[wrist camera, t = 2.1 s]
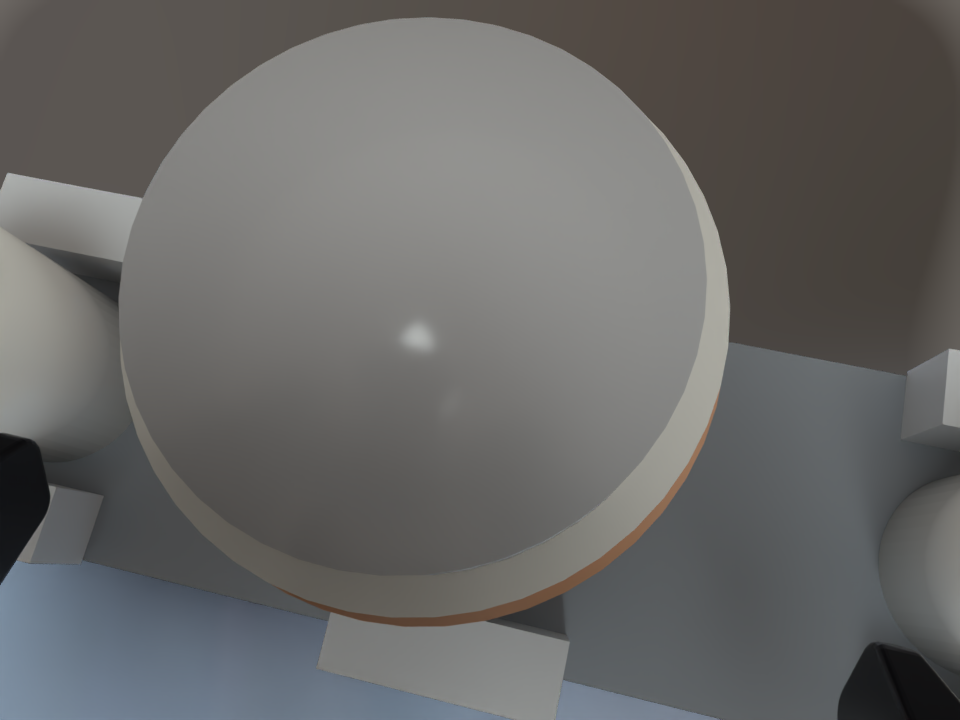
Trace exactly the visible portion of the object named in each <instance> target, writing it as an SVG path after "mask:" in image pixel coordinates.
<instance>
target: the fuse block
mask: <svg viewBox="0 0 960 720" xmlns="http://www.w3.org/2000/svg"><path fill="white" fill-rule="evenodd" d="M142 199H143V198H139V197H134V196H128V195H123V194H118V193H112V192H107V191H101V190H96V189H91V188H85V187H80V186H75V185H70V184H64V183H59V182H53V181H48V180H42V179H37V178H32V177H27V176H21V175H15V174H10V173H7V176H6V178H5V180H4V183H3V186H2V188H1V190H0V227H1V228H3V229H4V230H6V231H7V232H9V233H11V234H12V235H14V236H15V237H17V238H18V239H20V240H21V241H23V242H24V243H26V244H28V245H29V246H31V247H32V248H34V249H35V250H37V251H38V252H40V253H41V254H43V255H45V256H46V257H48V258H49V259H51V260H52V261H54V262H55V263H57V264H58V265H60V266H62V267H63V268H65V269H66V270H68V271H69V272H71V273H72V274H74V275H75V276H77V277H79V278H80V279H82V280H83V281H85V282H86V283H88V284H89V285H91V286H92V287H94V288H96V289H97V290H99V291H100V292H102V293H103V294H105V295H106V296H108V297H110V298H111V299H113V300H114V301H116V302H117V303H119V290H120V281H121V273H122V264H123V259H124V255H125V251H126V247H127V243H128V239H129V235H130V231H131V227H132V225H133V222H134V220H135V217H136V214H137V212H138V209H139V207H140V204H141V202H142ZM43 463H44V467H45V472H46V476H47V481H48V485H49V490H50V504H49V508H48V511H47V513H46V515H45V517H44V519H43V521H42V522H41V524H40V525H39V527H38V528H37V530H36V531H35V533H34V534H33V536H32V537H31V539H30V540H29V542H28V543H27V545H26V546H25V548H24V550H23V551H22V553H21V554H20V556H19V557H18V559H17V561H21V562H25V563H29V564H73V565H81V563H82V560H84V561H88V562H92V563H96V564H100V565H105V566H109V567H113V568H117V569H121V570H125V571H129V572H133V573H137V574H141V575H145V576H149V577H153V578H157V579H161V580H165V581H169V582H173V583H177V584H181V585H185V586H189V587H193V588H197V589H201V590H205V591H209V592H213V593H217V594H221V595H225V596H229V597H233V598H237V599H241V600H245V601H249V602H253V603H257V604H261V605H265V606H269V607H273V608H277V609H281V610H285V611H289V612H293V613H297V614H301V615H305V616H309V617H313V618H317V619H321V620H325V621H328V625H327V628H326V632H325V636H324V640H323V644H322V648H321V652H320V655H319V659H318V663H317V667H316V669H319V670H323V671H327V672H330V673H334V674H338V675H342V676H346V677H350V678H354V679H358V680H362V681H365V682H369V683H373V684H377V685H381V686H385V687H389V688H393V689H397V690H400V691H404V692H408V693H412V694H416V695H420V696H424V697H428V698H431V699H435V700H439V701H443V702H447V703H451V704H455V705H459V706H463V707H466V708H470V709H474V710H478V711H482V712H486V713H490V714H494V715H498V716H501V717H505V718H509V719H513V720H555V718H556V713H557V707H558V702H559V697H560V692H561V686H562V681H563V680H566V681H570V682H574V683H578V684H582V685H586V686H590V687H594V688H598V689H602V690H606V691H610V692H614V693H618V694H622V695H626V696H630V697H634V698H638V699H642V700H646V701H650V702H654V703H658V704H662V705H666V706H670V707H674V708H678V709H682V710H686V711H690V712H694V713H698V714H702V715H706V716H710V717H714V718H718V719H722V720H837V710H838V702H839V698H840V695H841V692H842V690H843V688H844V686H845V684H846V682H847V680H848V678H849V677H850V675H851V673H852V671H853V669H854V667H855V666H856V664H857V662H858V660H859V658H860V656H861V654H862V653H863V651H864V649H865V648H866V646H867V645H868V644H870V643H871V642H874V641H881V642H885V643H889V644H893V645H897V646H901V647H906V648H910V649H912V650H915V651H917V652H918V653H919V654H920V655H921V656H922V657H923V658H924V659H925V660H926V661H927V662H928V663H929V665H930V666H931V667H932V668H933V669H934V670H935V672H936V673H937V674H938V675H939V676H940V678H941V679H942V680H943V681H944V682H945V684H946V685H947V686H948V687H949V688H950V690H951V691H952V692H953V693H954V694H955V695H956V697H957V698H958V699H959V700H960V676H959V675H957V674H954V673H952V672H950V671H948V670H946V669H944V668H942V667H941V666H939V665H937V664H936V663H934V662H933V661H932V660H930V659H929V658H927V657H926V656H925V655H924V654H923V653H921V652H920V651H919V650H918V649H917V648H916V647H915V646H914V645H913V644H912V643H911V642H910V641H909V639H908V638H907V637H906V636H905V635H904V633H903V632H902V631H901V629H900V628H899V626H898V625H897V624H896V622H895V620H894V618H893V616H892V614H891V613H890V611H889V608H888V606H887V603H886V601H885V598H884V595H883V591H882V587H881V584H880V576H879V551H880V544H881V540H882V536H883V533H884V530H885V528H886V526H887V523H888V521H889V519H890V518H891V516H892V515H893V513H894V511H895V510H896V509H897V507H898V506H899V505H900V504H901V503H902V502H903V501H904V500H905V499H906V498H907V497H908V496H909V495H910V494H912V493H913V492H914V491H916V490H918V489H919V488H921V487H922V486H924V485H926V484H929V483H931V482H933V481H936V480H939V479H943V478H946V477H950V476H954V475H958V474H960V350H954V349H947V350H945V351H944V352H942V353H940V354H938V355H936V356H935V357H933V358H931V359H929V360H927V361H925V362H924V363H922V364H920V365H918V366H916V367H915V368H913V369H911V370H909V371H907V376H905V375H899V374H893V373H888V372H884V371H878V370H873V369H868V368H862V367H858V366H852V365H847V364H841V363H837V362H831V361H826V360H821V359H815V358H811V357H805V356H800V355H795V354H790V353H784V352H779V351H773V350H769V349H764V348H758V347H753V346H748V345H743V344H737V343H732V342H728V351H727V356H726V361H725V366H724V372H723V377H722V382H721V387H720V392H719V397H718V402H717V407H716V410H715V413H714V416H713V419H712V421H711V424H710V427H709V430H708V433H707V436H706V439H705V442H704V444H703V446H702V448H701V450H700V452H699V454H698V456H697V458H696V460H695V462H694V464H693V466H692V468H691V470H690V472H689V474H688V476H687V478H686V480H685V481H684V483H683V484H682V486H681V487H680V488H679V490H678V491H677V493H676V494H675V496H674V497H673V499H672V500H671V501H670V503H669V504H668V506H667V507H666V509H665V510H664V511H663V513H662V514H661V515H660V516H659V517H658V518H657V519H656V520H655V522H654V523H653V524H652V525H651V526H650V527H649V528H648V529H647V530H646V531H645V532H644V533H643V535H642V536H641V537H640V538H639V539H638V540H637V541H636V542H635V543H634V544H633V545H632V546H630V547H629V548H628V549H627V550H626V551H624V552H623V553H622V554H621V555H620V556H618V557H617V558H616V559H615V560H614V561H612V562H611V563H610V564H609V565H607V566H606V567H605V568H604V569H603V570H601V571H599V572H598V573H596V574H595V575H593V576H591V577H590V578H588V579H586V580H585V581H583V582H582V583H580V584H578V585H577V586H575V587H573V588H572V589H570V590H569V591H567V592H565V593H563V594H560V595H558V596H556V597H554V598H551V599H549V600H547V601H545V602H542V603H540V604H538V605H535V606H533V607H531V608H529V609H526V610H522V611H519V612H515V613H512V614H508V615H505V616H501V617H498V618H494V619H491V620H487V621H480V622H473V623H466V624H459V625H452V626H444V627H402V626H395V625H388V624H380V623H373V622H366V621H360V620H357V619H353V618H350V617H346V616H343V615H339V614H336V613H332V612H329V611H325V610H322V609H320V608H318V607H315V606H313V605H311V604H308V603H306V602H304V601H302V600H299V599H297V598H295V597H293V596H290V595H288V594H286V593H284V592H283V591H281V590H280V589H278V588H276V587H275V586H273V585H272V584H270V583H268V582H266V581H264V580H263V579H261V578H260V577H258V576H256V575H255V574H253V573H252V572H250V571H248V570H247V569H245V568H244V567H242V566H240V565H239V564H237V563H236V562H234V561H233V560H231V559H230V558H229V557H228V556H227V555H226V554H224V553H223V552H222V551H221V550H220V549H219V548H217V547H216V546H215V545H214V544H213V543H211V542H210V541H209V540H208V539H207V538H206V537H204V536H203V535H202V534H201V533H200V532H199V531H198V529H197V528H196V527H195V526H194V525H193V524H192V523H191V521H190V520H189V519H188V518H187V517H186V516H185V515H184V514H183V512H182V511H181V510H180V509H179V508H178V507H177V506H176V504H175V503H174V501H173V500H172V498H171V497H170V495H169V494H168V492H167V491H166V489H165V488H164V486H163V485H162V483H161V481H160V480H159V478H158V477H157V475H156V474H155V472H154V470H153V468H152V466H151V464H150V462H149V460H148V458H147V455H146V453H145V451H144V449H143V447H142V445H141V443H140V440H139V438H138V436H137V433H136V429H135V426H134V423H133V421H132V422H131V423H130V425H129V426H128V427H127V428H126V429H125V430H124V432H122V433H121V434H120V435H119V436H118V437H117V438H116V439H115V440H114V441H112V442H111V443H110V444H108V445H107V446H106V447H104V448H102V449H100V450H99V451H97V452H95V453H93V454H91V455H88V456H86V457H83V458H80V459H76V460H73V461H66V462H43Z"/></svg>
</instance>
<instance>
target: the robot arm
mask: <svg viewBox="0 0 960 720" xmlns="http://www.w3.org/2000/svg"><path fill="white" fill-rule="evenodd" d="M49 504H50V490H49V485H48V481H47V476H46V472H45V467H44V463H43V458H42V454H41V450H40V447H39V446H38V445H37V443H36V442H35V441H33V440H32V439H29V438H25V437H21V436H17V435H12V434H8V433H0V585H1V583H2V581H3V580H4V578H5V577H6V575H7V574H8V572H9V571H10V569H11V568H12V566H13V565H14V563H15V562H16V560H17V559H18V557H19V556H20V554H21V553H22V551H23V550H24V548H25V546H26V545H27V543H28V542H29V540H30V539H31V537H32V536H33V534H34V533H35V531H36V530H37V528H38V527H39V525H40V524H41V522H42V521H43V519H44V517H45V515H46V513H47V511H48V508H49ZM837 720H960V700H959V699H958V698H957V697H956V695H955V694H954V693H953V692H952V691H951V690H950V688H949V687H948V686H947V685H946V684H945V682H944V681H943V680H942V679H941V678H940V676H939V675H938V674H937V673H936V672H935V670H934V669H933V668H932V667H931V666H930V665H929V663H928V662H927V661H926V660H925V659H924V658H923V657H922V656H921V655H920V654H919V653H918V652H917V651H915V650H912V649H910V648H906V647H901V646H897V645H893V644H889V643H885V642H881V641H874V642H871V643H870V644H868V645H867V646H866V648H865V649H864V651H863V653H862V654H861V656H860V658H859V660H858V662H857V664H856V666H855V667H854V669H853V671H852V673H851V675H850V677H849V678H848V680H847V682H846V684H845V686H844V688H843V690H842V692H841V695H840V698H839V702H838V710H837Z"/></svg>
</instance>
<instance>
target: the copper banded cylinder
mask: <svg viewBox="0 0 960 720" xmlns="http://www.w3.org/2000/svg"><path fill="white" fill-rule="evenodd" d="M729 321H730V301H729V290H728V280H727V269H726V264H725V260H724V256H723V251H722V247H721V243H720V239H719V234H718V231H717V228H716V226H715V223H714V221H713V218H712V215H711V213H710V210H709V208H708V205H707V202H706V200H705V197H704V195H703V194H702V192H701V190H700V188H699V186H698V185H697V183H696V181H695V179H694V177H693V176H692V174H691V172H690V170H689V168H688V167H687V165H686V163H685V162H684V160H683V159H682V158H681V156H680V155H679V154H678V152H677V151H676V150H675V149H674V147H673V146H672V145H671V143H670V142H669V141H668V139H667V138H666V137H665V135H664V134H663V133H662V132H661V131H660V130H659V129H658V128H657V127H656V126H655V125H654V124H653V123H652V122H651V121H650V120H649V119H648V118H647V117H646V116H645V114H644V113H643V112H642V111H641V110H640V109H639V108H638V107H637V106H636V105H635V104H634V103H633V102H632V101H631V100H630V99H629V98H628V97H627V96H626V95H625V94H624V93H623V92H622V91H621V90H620V89H619V88H618V87H617V86H615V85H614V84H613V83H612V82H610V81H609V80H608V79H606V78H605V77H604V76H603V75H601V74H600V73H599V72H598V71H596V70H595V69H594V68H592V67H591V66H589V65H587V64H586V63H584V62H582V61H581V60H579V59H577V58H576V57H574V56H572V55H571V54H569V53H567V52H565V51H564V50H562V49H560V48H558V47H555V46H553V45H551V44H549V43H546V42H544V41H542V40H540V39H537V38H535V37H533V36H530V35H527V34H524V33H520V32H517V31H514V30H510V29H507V28H504V27H501V26H497V25H492V24H486V23H480V22H474V21H469V20H463V19H448V18H431V17H425V18H406V19H391V20H385V21H379V22H373V23H368V24H361V25H356V26H353V27H349V28H346V29H342V30H339V31H336V32H332V33H328V34H325V35H322V36H320V37H318V38H315V39H312V40H310V41H307V42H305V43H303V44H300V45H298V46H295V47H293V48H291V49H289V50H287V51H286V52H283V53H282V54H280V55H278V56H276V57H274V58H272V59H270V60H269V61H267V62H265V63H263V64H261V65H260V66H258V67H257V68H255V69H254V70H253V71H251V72H250V73H248V74H247V75H245V76H244V77H242V78H241V79H240V80H238V81H237V82H235V83H234V84H232V85H231V86H230V87H229V88H228V89H227V90H225V91H224V92H223V93H222V94H221V95H220V96H219V97H218V98H217V99H215V100H214V101H213V102H212V103H211V104H210V105H208V106H207V107H206V108H205V109H204V110H203V111H202V113H201V114H200V115H199V116H198V117H197V118H196V119H195V120H194V121H193V123H192V124H191V125H190V126H189V127H188V128H187V129H186V130H185V131H184V133H183V134H182V135H181V136H180V138H179V139H178V140H177V142H176V143H175V145H174V146H173V147H172V149H171V150H170V152H169V153H168V154H167V156H166V157H165V159H164V160H163V162H162V163H161V165H160V166H159V168H158V170H157V172H156V174H155V176H154V178H153V179H152V181H151V183H150V185H149V187H148V189H147V191H146V193H145V194H144V197H143V199H142V202H141V204H140V207H139V209H138V212H137V214H136V217H135V220H134V222H133V225H132V227H131V231H130V235H129V239H128V243H127V247H126V251H125V255H124V259H123V264H122V273H121V281H120V290H119V335H120V356H121V368H122V374H123V381H124V387H125V393H126V400H127V403H128V406H129V410H130V413H131V416H132V420H133V423H134V426H135V429H136V433H137V436H138V438H139V440H140V443H141V445H142V447H143V449H144V451H145V453H146V455H147V458H148V460H149V462H150V464H151V466H152V468H153V470H154V472H155V474H156V475H157V477H158V478H159V480H160V481H161V483H162V485H163V486H164V488H165V489H166V491H167V492H168V494H169V495H170V497H171V498H172V500H173V501H174V503H175V504H176V506H177V507H178V508H179V509H180V510H181V511H182V512H183V514H184V515H185V516H186V517H187V518H188V519H189V520H190V521H191V523H192V524H193V525H194V526H195V527H196V528H197V529H198V531H199V532H200V533H201V534H202V535H203V536H204V537H206V538H207V539H208V540H209V541H210V542H211V543H213V544H214V545H215V546H216V547H217V548H219V549H220V550H221V551H222V552H223V553H224V554H226V555H227V556H228V557H229V558H230V559H231V560H233V561H234V562H236V563H237V564H239V565H240V566H242V567H244V568H245V569H247V570H248V571H250V572H252V573H253V574H255V575H256V576H258V577H260V578H261V579H263V580H264V581H266V582H268V583H270V584H272V585H273V586H275V587H276V588H278V589H280V590H281V591H283V592H284V593H286V594H288V595H290V596H293V597H295V598H297V599H299V600H302V601H304V602H306V603H308V604H311V605H313V606H315V607H318V608H320V609H322V610H325V611H329V612H332V613H336V614H339V615H343V616H346V617H350V618H353V619H357V620H360V621H366V622H373V623H380V624H388V625H395V626H402V627H444V626H452V625H459V624H466V623H473V622H480V621H487V620H491V619H494V618H498V617H501V616H505V615H508V614H512V613H515V612H519V611H522V610H526V609H529V608H531V607H533V606H535V605H538V604H540V603H542V602H545V601H547V600H549V599H551V598H554V597H556V596H558V595H560V594H563V593H565V592H567V591H569V590H570V589H572V588H573V587H575V586H577V585H578V584H580V583H582V582H583V581H585V580H586V579H588V578H590V577H591V576H593V575H595V574H596V573H598V572H599V571H601V570H603V569H604V568H605V567H606V566H607V565H609V564H610V563H611V562H612V561H614V560H615V559H616V558H617V557H618V556H620V555H621V554H622V553H623V552H624V551H626V550H627V549H628V548H629V547H630V546H632V545H633V544H634V543H635V542H636V541H637V540H638V539H639V538H640V537H641V536H642V535H643V533H644V532H645V531H646V530H647V529H648V528H649V527H650V526H651V525H652V524H653V523H654V522H655V520H656V519H657V518H658V517H659V516H660V515H661V514H662V513H663V511H664V510H665V509H666V507H667V506H668V504H669V503H670V501H671V500H672V499H673V497H674V496H675V494H676V493H677V491H678V490H679V488H680V487H681V486H682V484H683V483H684V481H685V480H686V478H687V476H688V474H689V472H690V470H691V468H692V466H693V464H694V462H695V460H696V458H697V456H698V454H699V452H700V450H701V448H702V446H703V444H704V442H705V439H706V436H707V433H708V430H709V427H710V424H711V421H712V419H713V416H714V413H715V410H716V407H717V402H718V397H719V392H720V387H721V382H722V377H723V372H724V366H725V361H726V356H727V351H728V342H729Z"/></svg>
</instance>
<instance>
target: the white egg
mask: <svg viewBox="0 0 960 720" xmlns="http://www.w3.org/2000/svg"><path fill="white" fill-rule="evenodd" d="M879 576H880V584H881V587H882V591H883V595H884V598H885V601H886V603H887V606H888V608H889V611H890V613H891V614H892V616H893V618H894V620H895V622H896V624H897V625H898V626H899V628H900V629H901V631H902V632H903V633H904V635H905V636H906V637H907V638H908V639H909V641H910V642H911V643H912V644H913V645H914V646H915V647H916V648H917V649H918V650H919V651H920V652H921V653H923V654H924V655H925V656H926V657H927V658H929V659H930V660H932V661H933V662H934V663H936V664H937V665H939V666H941V667H942V668H944V669H946V670H948V671H950V672H952V673H954V674H957V675H959V676H960V474H958V475H954V476H950V477H946V478H943V479H939V480H936V481H933V482H931V483H929V484H926V485H924V486H922V487H921V488H919V489H918V490H916V491H914V492H913V493H912V494H910V495H909V496H908V497H907V498H906V499H905V500H904V501H903V502H902V503H901V504H900V505H899V506H898V507H897V509H896V510H895V511H894V513H893V515H892V516H891V518H890V519H889V521H888V523H887V526H886V528H885V530H884V533H883V536H882V540H881V544H880V551H879Z"/></svg>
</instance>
